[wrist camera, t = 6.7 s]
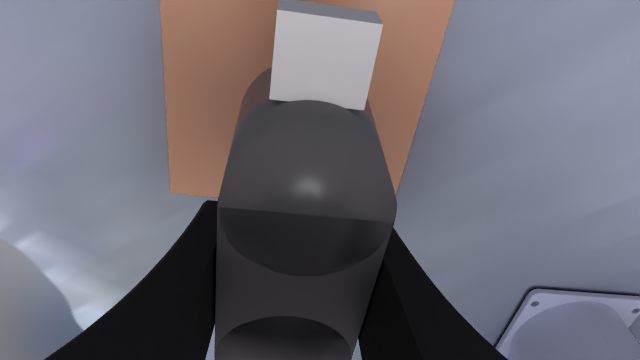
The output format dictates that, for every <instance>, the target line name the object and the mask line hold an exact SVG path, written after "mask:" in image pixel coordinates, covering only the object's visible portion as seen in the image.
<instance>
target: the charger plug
mask: <svg viewBox="0 0 640 360" xmlns="http://www.w3.org/2000/svg"><path fill="white" fill-rule="evenodd" d="M382 28H383V23H382V21H381V19H380V17H379V15H378V13H377V12H375V11H368V10H361V9H354V8H347V7H340V6H334V5H327V4H320V3H313V2H306V1H299V0H279V2H278V8H277V18H276V29H275V40H274V52H273V63H272V66H271V67H270V68H268V69H267V70H265V71H264V72H262V73H261V74H260V75H259V76H258V77H257V78H256V79H255V80H254V81H253V82H252V83H251V84H250V86H249V88H248V89H247V91H246V93H245V95H244V97H243V100H242V103H241V107H240V111H239V115H238V119H237V123H236V128H235V132H234V136H233V140H232V144H231V148H230V152H229V156H228V160H227V164H226V168H225V172H224V177H223V181H222V185H221V189H220V193H219V197H218V206H217V254H216V305H215V360H351V358H352V355H353V352H354V349H355V346H356V342H357V339H358V336H359V333H360V330H361V327H362V323H363V320H364V317H365V314H366V311H367V307H368V304H369V301H370V298H371V295H372V292H373V288H374V285H375V282H376V279H377V276H378V273H379V269H380V266H381V263H382V260H383V257H384V253H385V250H386V247H387V244H388V241H389V238H390V234H391V231H392V228H393V225H394V221H395V217H396V209H397V202H396V195H395V191H394V187H393V184H392V181H391V177H390V174H389V170H388V167H387V163H386V160H385V156H384V153H383V149H382V146H381V142H380V139H379V135H378V132H377V128H376V125H375V122H374V118H373V115H372V111H371V108H370V104H369V101H368V98H367V95H368V91H369V86H370V82H371V77H372V73H373V68H374V64H375V59H376V55H377V50H378V46H379V41H380V37H381V32H382Z"/></svg>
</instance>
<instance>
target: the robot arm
mask: <svg viewBox="0 0 640 360" xmlns="http://www.w3.org/2000/svg"><path fill="white" fill-rule="evenodd" d="M217 206H218V201H210V200H207V201H206V202H204V203H203V205H202V206H201V208H200V210H199V211H198V213H197V214H196V216H195V217H194V219H193V220H192V221H191V223H190V224H189V226H188V227H187V228H186V230H185V231H184V232H183V234H182V235H181V236H180V237H179V239H178V240H177V241H176V242H175V244H174V245H173V246H172V247H171V249H170V250H169V251H168V252H167V253H166V254H165V256H164V257H163V258H162V259H161V260H160V261H159V262H158V263H157V264H156V265H155V267H154V268H153V269H152V270H151V271H150V272H149V273H148V274H147V275H146V276H145V277H144V278H143V279H142V280H141V281H140V282H139V283H138V284H137V285H136V286H135V287H134V288H133V289H132V290H131V291H130V292H129V293H128V294H127V295H126V296H125V297H124V298H123V299H121V300H120V301H119V302H118V303H117V304H116V305H115V306H114V307H112V308H111V309H110V310H109V311H108V312H106V313H105V314H104V315H103V316H102V317H100V318H99V319H98V320H97V321H96V322H95V323H93V324H92V325H91V326H90V327H88V328H87V329H86V330H84V331H83V332H82V333H81V334H79V335H78V336H77V337H75V338H74V339H72V340H71V341H70V342H68V343H67V344H66V345H64V346H63V347H61V348H60V349H58V350H57V351H56V352H54V353H53V354H51V355H50V356H49V357H47V358H46V359H44V360H205V358H206V355H207V351H208V347H209V343H210V340H211V336H212V332H213V328H214V325H215V305H216V254H217ZM639 315H640V296H627V295H614V294H600V293H587V292H573V291H560V290H546V289H534V290H532V291H530V292H529V294H528V295H527V297H526V298H525V300H524V302H523V303H522V305H521V307H520V308H519V310H518V312H517V313H516V315H515V316H514V318H513V320H512V321H511V323H510V325H509V326H508V328H507V330H506V331H505V333H504V334H503V336H502V338H501V339H500V341H499V343H498V344H497V346H496V348H494V347H493V346H492V345H491V344H490V343H489V342H488V341H487V340H486V339H484V338H483V337H482V336H481V335H480V334H479V333H478V332H477V331H476V330H475V329H474V328H473V327H472V326H471V325H470V324H469V323H468V322H467V321H466V320H465V319H464V318H463V317H462V316H461V315H460V314H459V313H458V311H457V310H456V309H455V308H454V307H453V306H452V305H451V304H450V303H449V302H448V300H447V299H446V298H445V297H444V296H443V294H442V293H441V292H440V291H439V290H438V288H437V287H436V286H435V285H434V284H433V282H432V281H431V280H430V278H429V277H428V276H427V275H426V273H425V272H424V270H423V269H422V268H421V266H420V265H419V264H418V262H417V261H416V260H415V258H414V257H413V256H412V254H411V253H410V251H409V250H408V248H407V247H406V246H405V244H404V243H403V241H402V240H401V238H400V237H399V235H398V234H397V232H396V231H395V229H394V228H392V231H391V234H390V238H389V241H388V244H387V247H386V250H385V253H384V257H383V260H382V263H381V266H380V269H379V273H378V276H377V279H376V282H375V285H374V288H373V292H372V295H371V298H370V301H369V304H368V307H367V311H366V314H365V317H364V320H363V323H362V327H361V330H360V333H359V336H358V339H359V345H360V351H361V356H362V360H640V344H639V343H638V341H637V340H636V338H635V337H634V336H633V334H632V333H631V331H630V330H629V328H628V327H629V326H630V325H631V324H632V323H633V322H634V320H635V319H636V318H637V317H638V316H639Z"/></svg>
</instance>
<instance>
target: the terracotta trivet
mask: <svg viewBox="0 0 640 360" xmlns="http://www.w3.org/2000/svg"><path fill="white" fill-rule="evenodd" d="M299 1H306V2H313V3H320V4H327V5H334V6H340V7H347V8H354V9H361V10H368V11H375V12H377V13H378V15H379V17H380V19H381V21H382V23H383V28H382V32H381V37H380V41H379V46H378V50H377V55H376V59H375V64H374V68H373V73H372V77H371V82H370V86H369V91H368V95H367V98H368V101H369V104H370V108H371V111H372V115H373V118H374V122H375V125H376V128H377V132H378V135H379V139H380V142H381V146H382V149H383V153H384V156H385V160H386V163H387V167H388V170H389V174H390V177H391V181H392V184H393V187H394V191H395V195H396V194H397V191H398V187H399V184H400V181H401V177H402V174H403V171H404V168H405V164H406V161H407V158H408V154H409V151H410V148H411V145H412V141H413V138H414V135H415V131H416V128H417V125H418V121H419V118H420V115H421V112H422V108H423V105H424V102H425V98H426V95H427V92H428V89H429V85H430V82H431V79H432V75H433V72H434V69H435V66H436V62H437V59H438V56H439V52H440V49H441V46H442V43H443V39H444V36H445V33H446V29H447V26H448V23H449V20H450V16H451V13H452V10H453V6H454V3H455V0H299ZM278 2H279V0H160V14H161V32H162V50H163V68H164V86H165V104H166V122H167V140H168V158H169V176H170V193H174V194H185V195H196V196H207V197H219V193H220V189H221V185H222V181H223V177H224V172H225V168H226V164H227V160H228V156H229V152H230V148H231V144H232V140H233V136H234V132H235V128H236V123H237V119H238V115H239V111H240V107H241V103H242V100H243V97H244V95H245V93H246V91H247V89H248V88H249V86H250V84H251V83H252V82H253V81H254V80H255V79H256V78H257V77H258V76H259V75H260V74H261V73H262V72H264V71H265V70H267V69H268V68H270V67H271V66H272V63H273V52H274V40H275V29H276V18H277V8H278Z"/></svg>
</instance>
